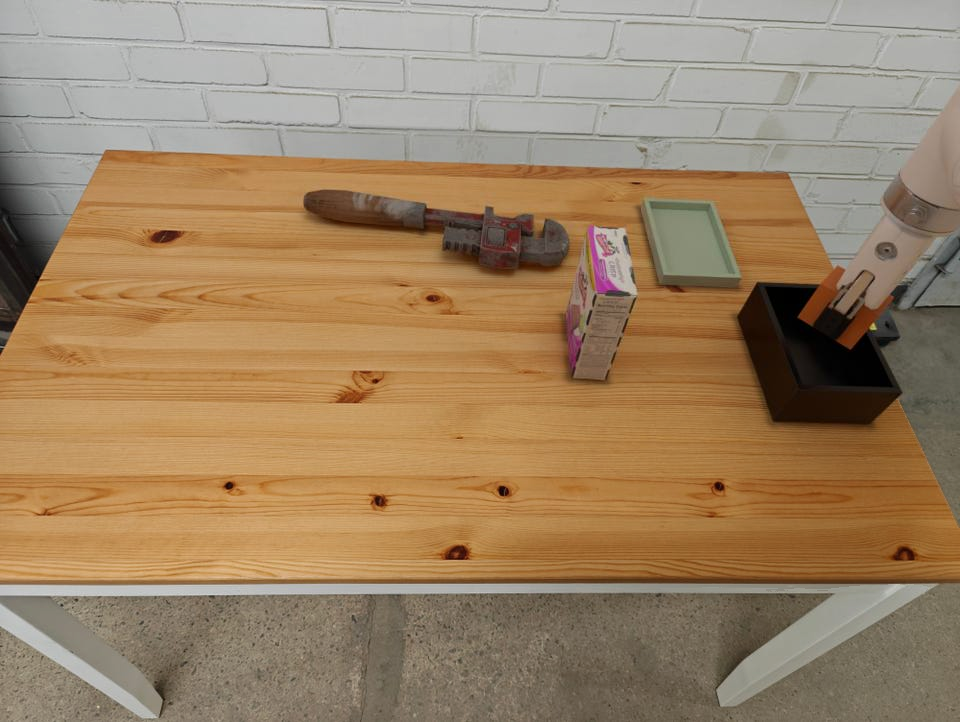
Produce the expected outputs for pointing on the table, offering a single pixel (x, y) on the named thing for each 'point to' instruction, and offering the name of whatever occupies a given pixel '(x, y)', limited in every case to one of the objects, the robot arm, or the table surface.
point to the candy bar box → (600, 302)
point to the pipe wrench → (494, 241)
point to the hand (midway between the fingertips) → (835, 320)
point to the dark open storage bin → (812, 362)
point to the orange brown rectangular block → (830, 291)
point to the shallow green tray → (689, 243)
